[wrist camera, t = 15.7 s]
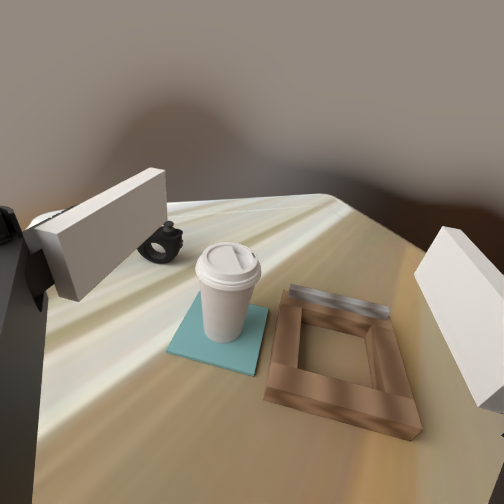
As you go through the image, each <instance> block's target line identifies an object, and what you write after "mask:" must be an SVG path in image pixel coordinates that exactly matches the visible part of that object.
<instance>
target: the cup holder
mask: <svg viewBox="0 0 504 504" xmlns="http://www.w3.org/2000/svg"><path fill="white" fill-rule="evenodd" d="M389 314H390V311H389V308H388V306H383V305H379V304H375V303H371V302H366V301H362V300H358V299H354V298H349V297H345V296H341V295H337V294H332V293H328V292H324V291H320V290H315V289H311V288H307V287H303V286H298V285H294V284H291V285H290V288H289V291H287V290H283V294H282V298H281V302H280V307H279V313H278V318H277V324H276V330H275V335H274V341H273V347H272V352H271V358H270V364H269V369H268V375H267V381H266V386H265V392H264V398H263V400H266V401H269V402H273V403H276V404H280V405H283V406H287V407H290V408H294V409H297V410H301V411H305V412H308V413H312V414H315V415H319V416H322V417H326V418H329V419H333V420H336V421H340V422H343V423H347V424H351V425H354V426H358V427H361V428H365V429H368V430H372V431H375V432H379V433H382V434H386V435H389V436H393V437H397V438H400V439H404V440H407V441H411V440H412V439H413V438H414V437H415V436H416V435H417V434H418V433H419V432H420V431H421V430H423V428H422V425H421V422H420V418H419V415H418V411H417V408H416V405H415V401H414V398H413V394H412V391H411V388H410V384H409V381H408V377H407V374H406V371H405V367H404V364H403V360H402V357H401V354H400V350H399V347H398V343H397V340H396V337H395V333H394V330H393V326H392V323H391V320H390V316H389ZM301 322H303V323H307V324H311V325H315V326H319V327H323V328H327V329H331V330H335V331H339V332H343V333H347V334H351V335H355V336H359V337H363V338H365V344H366V350H367V355H368V361H369V367H370V373H371V378H372V384H373V389H372V388H368V387H365V386H361V385H357V384H353V383H350V382H346V381H342V380H338V379H335V378H331V377H327V376H323V375H320V374H316V373H312V372H308V371H305V370H301V369H297V365H298V352H299V339H300V327H301Z"/></svg>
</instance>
